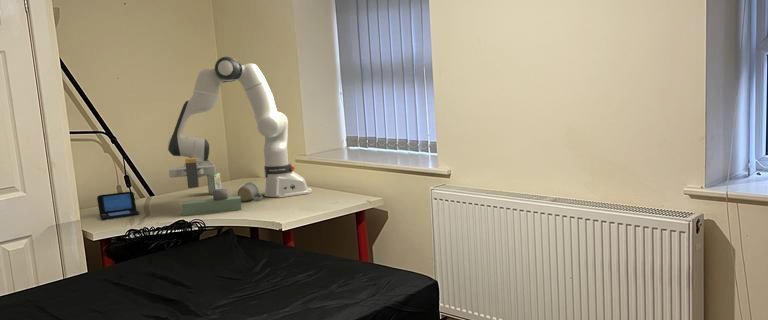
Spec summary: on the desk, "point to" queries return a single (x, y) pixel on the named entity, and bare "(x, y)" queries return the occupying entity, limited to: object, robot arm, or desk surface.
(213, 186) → the ink box
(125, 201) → the handheld game console
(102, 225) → the desk surface
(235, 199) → the green platform block
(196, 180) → the dark grey tall block
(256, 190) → the ceramic mug
